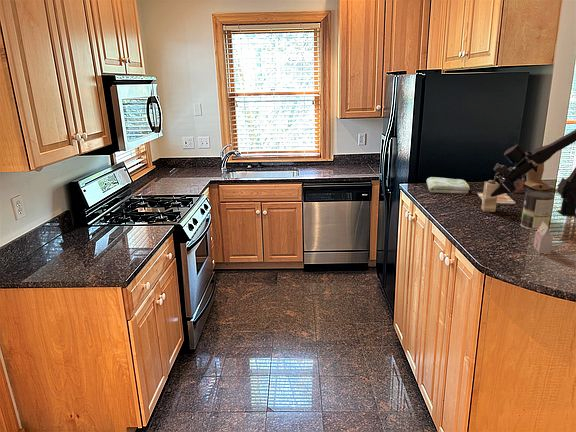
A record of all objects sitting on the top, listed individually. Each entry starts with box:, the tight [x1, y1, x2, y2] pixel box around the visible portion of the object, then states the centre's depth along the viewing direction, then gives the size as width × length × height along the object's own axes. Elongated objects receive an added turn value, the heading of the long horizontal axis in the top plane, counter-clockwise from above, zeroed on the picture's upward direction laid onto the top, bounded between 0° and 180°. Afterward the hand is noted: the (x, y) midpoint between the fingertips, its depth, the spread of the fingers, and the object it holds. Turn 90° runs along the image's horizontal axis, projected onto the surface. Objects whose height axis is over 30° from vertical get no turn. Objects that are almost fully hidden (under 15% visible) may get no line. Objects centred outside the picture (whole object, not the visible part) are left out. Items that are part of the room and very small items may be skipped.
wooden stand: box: [523, 160, 552, 191], centre depth 238 cm, size 15×12×15 cm
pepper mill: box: [481, 179, 499, 213], centre depth 201 cm, size 5×5×14 cm
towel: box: [425, 176, 471, 195], centre depth 241 cm, size 18×21×5 cm
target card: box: [476, 192, 517, 205], centre depth 220 cm, size 18×14×1 cm
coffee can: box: [520, 190, 555, 231], centre depth 178 cm, size 10×10×14 cm
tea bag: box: [532, 222, 554, 255], centre depth 155 cm, size 4×7×10 cm, turn 166°
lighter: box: [509, 176, 525, 194], centre depth 231 cm, size 8×3×10 cm, turn 62°
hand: (489, 193), depth 201 cm, fingers open, 9 cm apart
